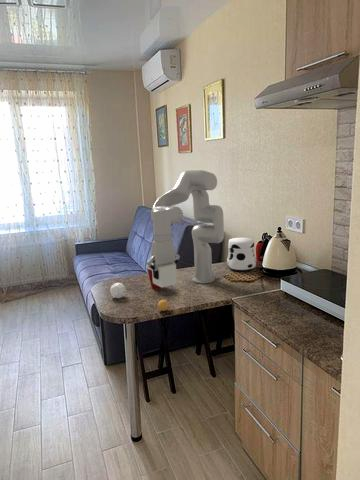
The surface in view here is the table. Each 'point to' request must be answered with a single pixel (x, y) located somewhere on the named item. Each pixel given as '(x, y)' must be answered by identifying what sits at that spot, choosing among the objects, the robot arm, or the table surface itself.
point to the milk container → (241, 254)
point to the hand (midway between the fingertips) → (164, 276)
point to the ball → (163, 305)
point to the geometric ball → (117, 290)
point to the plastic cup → (152, 278)
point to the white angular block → (166, 275)
